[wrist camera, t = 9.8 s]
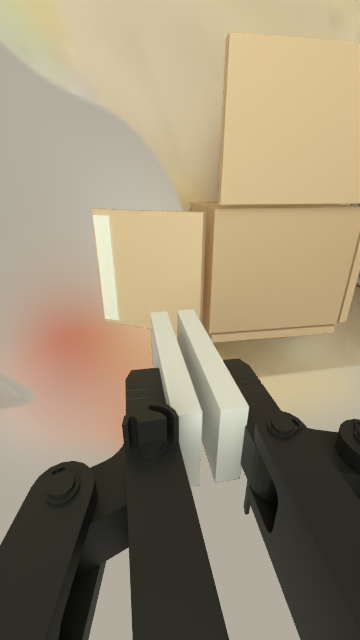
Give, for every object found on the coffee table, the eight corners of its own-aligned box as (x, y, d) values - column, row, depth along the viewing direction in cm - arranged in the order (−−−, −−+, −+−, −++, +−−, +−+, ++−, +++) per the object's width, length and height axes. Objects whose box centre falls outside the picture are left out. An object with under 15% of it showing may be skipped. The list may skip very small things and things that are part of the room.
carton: (189, 305, 33) (210, 346, 25) (192, 85, 25) (226, 31, 16) (293, 298, 35) (346, 335, 27) (329, 92, 27) (425, 47, 18)
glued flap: (201, 332, 25) (109, 318, 27) (206, 211, 21) (96, 208, 23) (198, 337, 24) (103, 322, 26) (202, 212, 20) (89, 209, 22)
